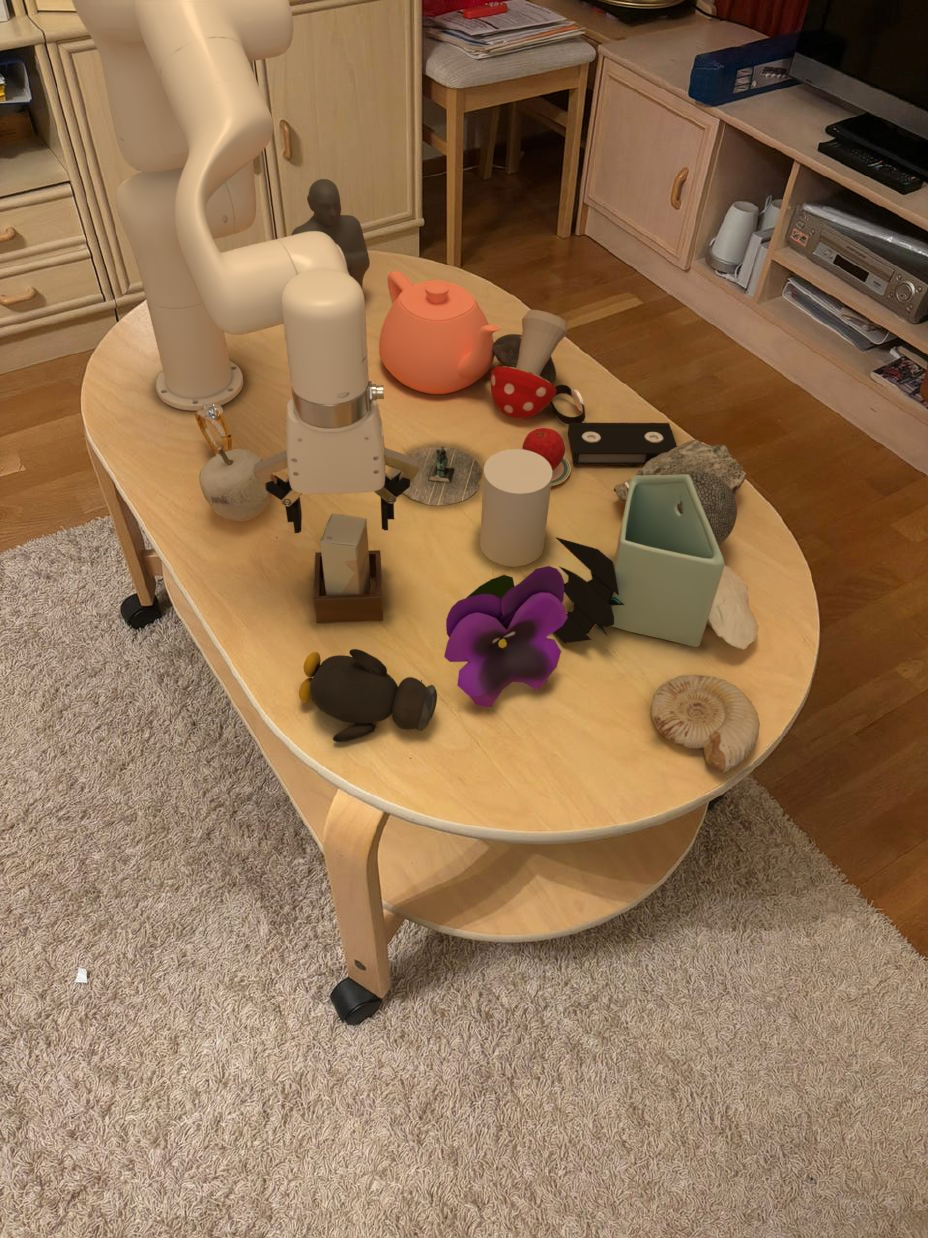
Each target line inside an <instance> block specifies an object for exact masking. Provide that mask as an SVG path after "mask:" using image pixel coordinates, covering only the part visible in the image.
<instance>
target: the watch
mask: <svg viewBox="0 0 928 1238" xmlns="http://www.w3.org/2000/svg"><path fill="white" fill-rule="evenodd" d="M554 387H555V388H556V390H557V391H556V395H555V397H556V396H558V395H560V394H564V395H567V396H570V398H572V400H573V403H574V405H575V407H576V408H577V409H578V411H579V412H582V413H581V414H579V415H577V416H567V415H565V414H563V413H561V412H560V411H559V410H558V409H557V407H556V406H555V404H554V402H553V400H552V401H551V402H550V403H549V404H550V408H551V413H552V414H553V416H554V417H557V418H558V420H559V421H560V422H561V423H563V424H566V425H568V426H569V423H584V421H585V419H586V406H585V405H586V404H585V401H584V398H583V397H582V394H581V392H580V391H579V390H578V389H576V388H575V389H572V388H571V387H570V386H569V385H567V384H557V385H554Z"/></svg>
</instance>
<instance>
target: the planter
mask: <svg viewBox="0 0 928 1238" xmlns="http://www.w3.org/2000/svg"><path fill="white" fill-rule="evenodd" d="M635 475H636V474H635ZM635 475H634V476H632V477H631V480H630V484H629V489H628V494H627V499H626V502H625V504H624V508H623V509H624V510H623V514H622V520H621V526H620V530H619V535H618V541H617V546H616V549H615V556H614V560H613V565H614V570H615V576H616V581H617V587H618V592H619V596H618V595H617V594H616V593H615V592H614V594H613V596H612V597H613V598H616V599H618V600H619V601H621V602H622V603H623V604H625V605H613V606H611V607H612V611H613V615H614V625H612V626H611V627H614V628H617V629H620V630H624V631H625V632H626V631H627V632H630V633H635V634H640V635H643V636H646V637H651V638H652V637H653V638H657V639H661V640H665V641H670V642H674V643H677V644H682V645H685V646H689V647H694V648H699V647H700V646H701V643H702V640H703V637H704V633H705V630H706V628H707V625H708V624H707V621H708V618H709V615H710V612H711V608H712V605H713V602H714V599H715V596H716V592H717V589H718V586H719V583H720V580H721V576H722V572H723V568H724V565H725V559H724V557H723V554H722V552H721V549H720V546H719V545H718V544H717V541H716V539H715V536H714V534H713V531H712V529H711V527H710V524H709V522H708V519H707V517H706V515H705V512H704V510H703V507H702V505H701V502H700V500H699V497H698V495H697V492H696V490H695V487H694V485H693V482H692V479H691V477H690V476H689V475H688V474H679V475H636V476H635ZM681 501H682V510H683V513H682V514H680V513H679V511H678V508H677V505H678V504H679V503H680V502H681Z"/></svg>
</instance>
